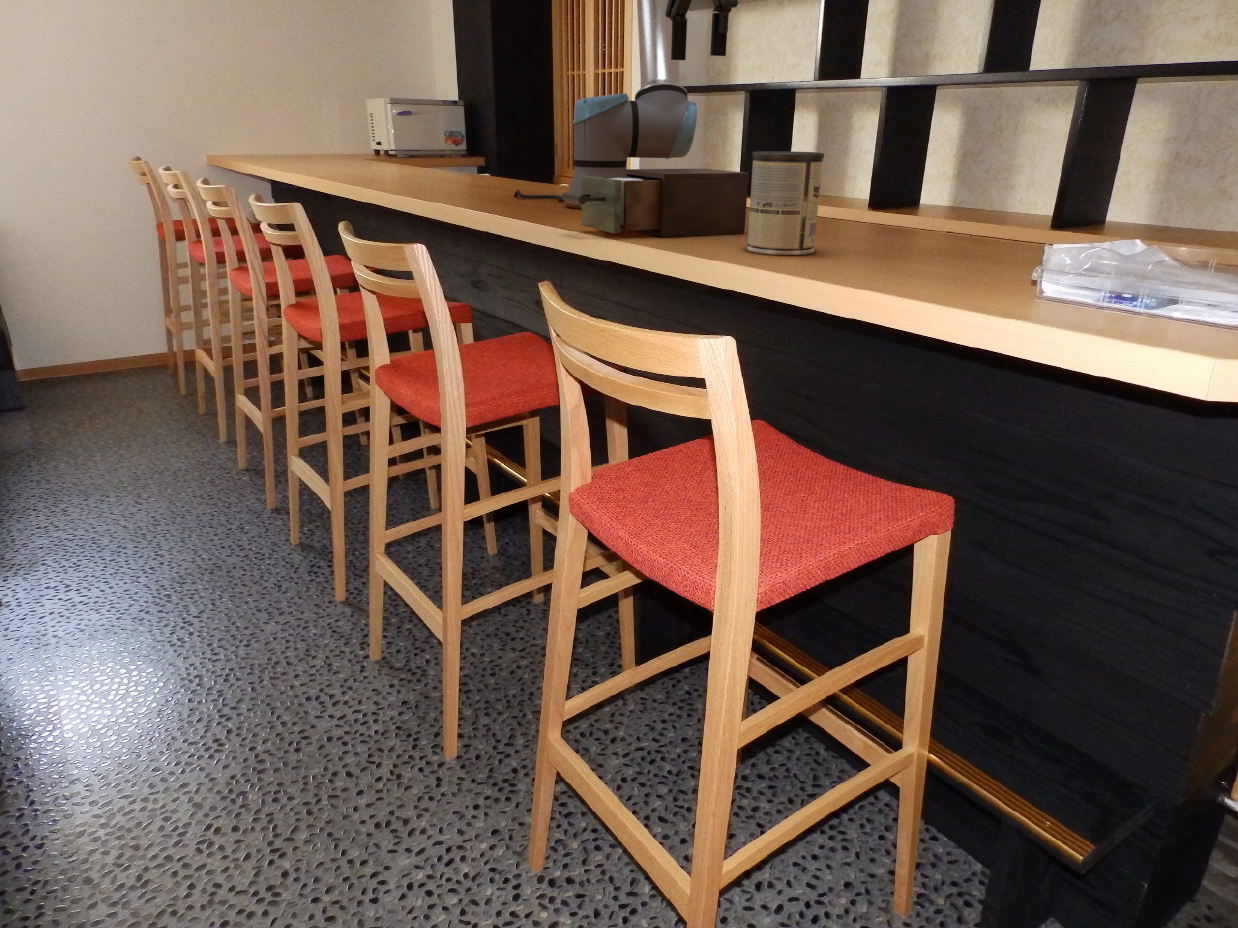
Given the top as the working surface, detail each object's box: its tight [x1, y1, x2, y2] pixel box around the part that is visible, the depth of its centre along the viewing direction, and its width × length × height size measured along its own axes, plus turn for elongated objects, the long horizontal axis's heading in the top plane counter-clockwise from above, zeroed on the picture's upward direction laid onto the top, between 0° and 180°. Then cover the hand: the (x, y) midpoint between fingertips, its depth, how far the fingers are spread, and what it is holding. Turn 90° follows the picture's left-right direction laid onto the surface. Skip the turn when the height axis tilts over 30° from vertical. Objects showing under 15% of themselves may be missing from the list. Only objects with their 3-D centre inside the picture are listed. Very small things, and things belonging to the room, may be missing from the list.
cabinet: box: [625, 168, 750, 239], centre depth 148 cm, size 17×14×10 cm
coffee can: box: [746, 150, 825, 256], centre depth 125 cm, size 10×10×14 cm
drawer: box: [561, 175, 662, 235], centre depth 143 cm, size 20×13×8 cm, turn 117°
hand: (697, 58), depth 151 cm, fingers open, 13 cm apart
